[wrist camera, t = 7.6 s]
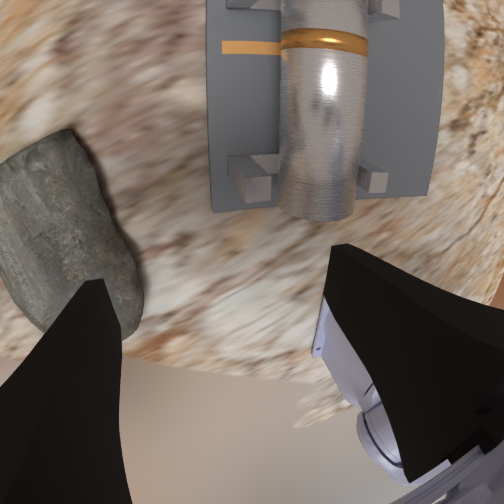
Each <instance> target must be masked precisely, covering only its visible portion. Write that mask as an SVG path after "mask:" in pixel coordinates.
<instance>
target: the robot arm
mask: <svg viewBox="0 0 504 504" xmlns="http://www.w3.org/2000/svg"><path fill="white" fill-rule="evenodd" d="M323 295H324V297H323V302H322V307H321V312H320V317H319V321H318V326H317V331H316V335H315V340H314V344H313V349H312V353H311V355H312V357H314V358H316V357H320V356H322V358H323V360H324V362H325V364H326V366H327V367H328V369H329V371H330V373H331V375H332V377H333V379H334V381H335V382H336V384H337V386H338V388H339V390H340V392H341V394H342V395H343V397H344V398H345V399H346V400H347V401H348V402H349V403H350V404H352V405H353V406H355V407H357V408H360V409H362V411H361V412H360V413H359V414H358V416H357V425H356V428H357V434H358V437H359V439H360V442H361V444H362V445H363V447H364V449H365V451H366V452H367V454H368V455H369V456H370V457H371V459H373V461H374V462H375V463H377V464H378V465H379V466H381V467H382V468H383V469H385V471H386V472H387V473H388V474H389V475H390V476H391V477H392V479H393V480H394V481H396V482H397V483H398V484H399V485H407V486H412V485H413V486H416V485H421V486H419V487H418V488H416V489H415V490H413V491H411V492H410V493H408V494H406V495H405V496H403V497H401V498H399V499H397V500H396V501H394V502H392V503H390V504H431V503H433V502H434V501H436V500H437V499H439V498H440V497H441V496H443V495H445V497H446V498H445V499H443V500H441V501H439V502H437V503H435V504H504V310H502V309H498V308H494V307H491V306H487V305H484V304H481V303H477V302H474V301H471V300H468V299H465V298H463V297H460V296H457V295H455V294H452V293H450V292H447V291H445V290H442V289H440V288H438V287H435V286H433V285H431V284H429V283H427V282H425V281H423V280H421V279H419V278H416V277H414V276H412V275H410V274H408V273H406V272H405V271H403V270H401V269H399V268H397V267H395V266H393V265H391V264H389V263H387V262H385V261H383V260H381V259H380V258H378V257H376V256H374V255H372V254H370V253H368V252H366V251H364V250H362V249H359V248H357V247H355V246H353V245H350V244H341V245H334V246H332V247H331V253H330V259H329V265H328V271H327V276H326V282H325V287H324V293H323ZM121 363H122V337H121V325H120V323H119V320H118V318H117V315H116V312H115V310H114V307H113V304H112V302H111V299H110V296H109V293H108V290H107V287H106V284H105V281H104V278H101V279H94V280H87V281H85V282H84V283H83V284H82V285H81V286H80V288H79V289H78V290H77V291H76V293H75V294H74V295H73V297H72V298H71V299H70V301H69V302H68V303H67V305H66V306H65V307H64V309H63V310H62V311H61V313H60V314H59V315H58V317H57V318H56V319H55V321H54V322H53V324H52V325H51V326H50V328H49V329H48V330H47V331H46V333H45V334H44V335H43V336H42V338H41V339H40V340H39V342H38V343H37V344H36V346H35V347H34V348H33V350H32V351H31V352H30V353H29V355H28V356H27V357H26V358H25V360H24V361H23V362H22V363H21V364H20V366H19V367H18V368H17V369H16V370H15V371H14V372H13V374H12V375H11V376H10V377H9V378H8V379H7V380H6V382H4V384H3V385H2V386H1V387H0V504H132V500H131V496H130V492H129V488H128V484H127V479H126V474H125V468H124V463H123V457H122V449H121V441H120V433H119V398H120V379H121Z"/></svg>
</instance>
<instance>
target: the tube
mask: <svg viewBox="0 0 504 504" xmlns="http://www.w3.org/2000/svg"><path fill="white" fill-rule="evenodd" d="M367 69H368V0H281V80H280V129H279V163H278V192H277V204H278V206H279V208H280V209H281V210H283V211H284V212H286V213H288V214H290V215H292V216H295V217H298V218H302V219H306V220H312V221H337V220H342V219H345V218H347V217H349V216H350V215H351V214H352V213H353V209H354V203H355V196H356V189H357V182H358V174H359V167H360V158H361V149H362V140H363V130H364V118H365V105H366V90H367Z"/></svg>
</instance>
